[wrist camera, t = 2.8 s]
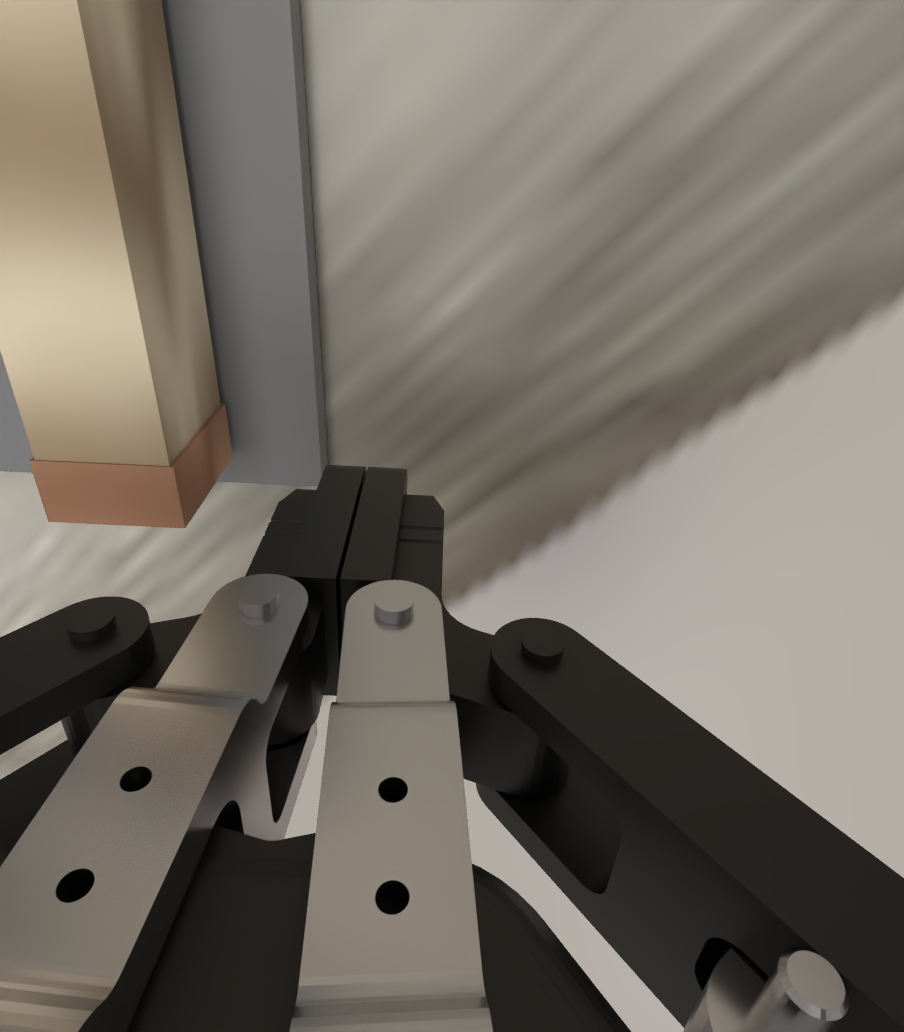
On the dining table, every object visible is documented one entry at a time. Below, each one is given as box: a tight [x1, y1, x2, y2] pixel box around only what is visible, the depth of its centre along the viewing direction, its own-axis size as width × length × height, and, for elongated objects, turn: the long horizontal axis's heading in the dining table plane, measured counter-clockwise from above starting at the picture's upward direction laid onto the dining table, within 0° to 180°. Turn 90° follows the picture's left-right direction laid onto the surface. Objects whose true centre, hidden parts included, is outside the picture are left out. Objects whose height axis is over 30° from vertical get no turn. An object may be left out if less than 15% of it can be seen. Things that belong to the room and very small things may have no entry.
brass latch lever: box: [0, 0, 232, 528], centre depth 12 cm, size 19×4×4 cm, turn 178°
